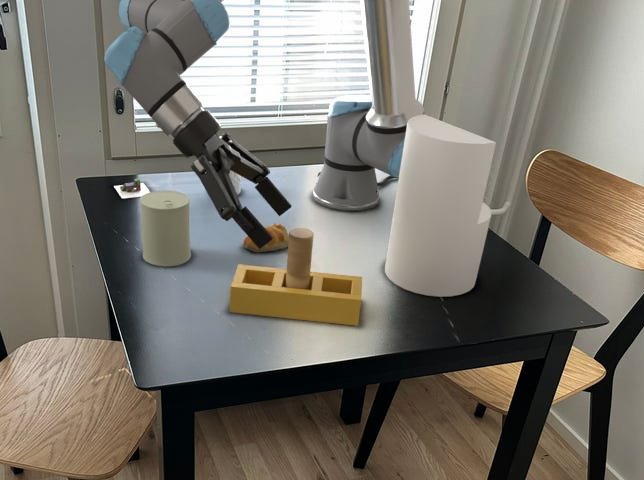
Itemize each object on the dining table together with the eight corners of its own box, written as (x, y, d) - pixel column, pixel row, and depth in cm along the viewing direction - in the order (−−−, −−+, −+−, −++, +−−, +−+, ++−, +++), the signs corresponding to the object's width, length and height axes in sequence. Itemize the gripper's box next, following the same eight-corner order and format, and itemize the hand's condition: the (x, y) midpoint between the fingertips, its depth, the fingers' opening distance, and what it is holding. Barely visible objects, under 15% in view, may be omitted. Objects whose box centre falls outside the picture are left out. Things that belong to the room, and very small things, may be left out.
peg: (298, 299, 127) (304, 225, 119) (311, 309, 124) (318, 234, 117) (279, 304, 125) (284, 230, 117) (292, 314, 123) (298, 239, 115)
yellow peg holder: (237, 289, 129) (238, 264, 126) (358, 301, 128) (362, 276, 125) (229, 312, 122) (230, 286, 119) (357, 326, 121) (361, 300, 118)
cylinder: (426, 304, 128) (457, 149, 112) (366, 265, 140) (386, 119, 124) (495, 284, 136) (532, 136, 120) (432, 248, 148) (459, 109, 132)
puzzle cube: (137, 186, 167) (137, 176, 166) (140, 190, 165) (140, 180, 164) (119, 188, 166) (119, 178, 165) (122, 192, 164) (122, 182, 162)
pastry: (256, 257, 140) (256, 239, 138) (235, 245, 144) (235, 227, 142) (292, 246, 145) (294, 229, 143) (272, 235, 149) (272, 217, 147)
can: (150, 269, 134) (146, 209, 127) (137, 249, 140) (133, 190, 134) (197, 262, 137) (196, 203, 130) (182, 243, 144) (181, 185, 137)
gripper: (197, 117, 124) (277, 211, 130) (142, 163, 104) (239, 272, 109) (227, 89, 120) (308, 187, 126) (175, 130, 100) (275, 245, 106)
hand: (276, 226), depth 118 cm, fingers open, 13 cm apart
